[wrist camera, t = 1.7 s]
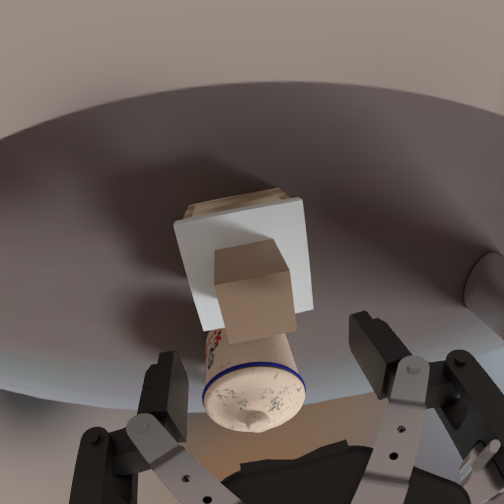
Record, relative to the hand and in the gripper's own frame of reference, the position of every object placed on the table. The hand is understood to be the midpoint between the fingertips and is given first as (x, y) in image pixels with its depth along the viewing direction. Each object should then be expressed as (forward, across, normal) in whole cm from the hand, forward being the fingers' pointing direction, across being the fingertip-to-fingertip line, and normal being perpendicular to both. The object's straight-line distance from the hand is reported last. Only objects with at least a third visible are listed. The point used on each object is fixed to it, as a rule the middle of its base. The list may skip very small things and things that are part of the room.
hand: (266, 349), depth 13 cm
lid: (+11, 0, 0) cm, 11 cm away
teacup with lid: (+16, +2, +13) cm, 21 cm away
